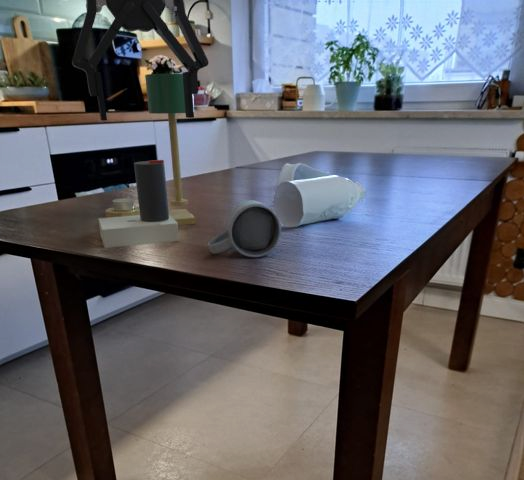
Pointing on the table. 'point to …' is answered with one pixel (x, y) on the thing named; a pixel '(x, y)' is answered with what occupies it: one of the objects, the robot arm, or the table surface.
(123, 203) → the lamp switch
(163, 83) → the desk lamp
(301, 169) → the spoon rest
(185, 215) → the lamp base
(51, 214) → the table surface
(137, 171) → the dark grey cylinder
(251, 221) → the ceramic mug
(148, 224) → the plate
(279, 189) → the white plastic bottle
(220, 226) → the table surface
